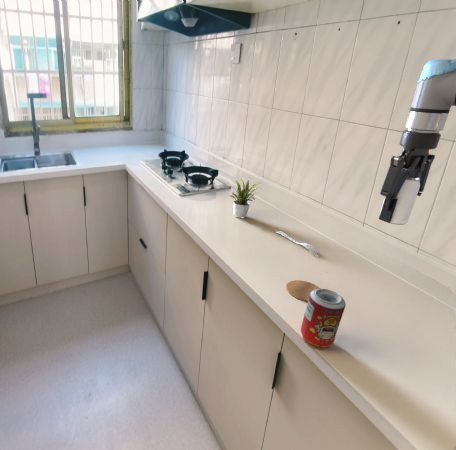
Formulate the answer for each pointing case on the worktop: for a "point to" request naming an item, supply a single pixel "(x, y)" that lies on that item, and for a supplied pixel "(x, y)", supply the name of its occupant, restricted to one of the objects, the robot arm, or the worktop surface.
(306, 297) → the cork coaster
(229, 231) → the worktop surface
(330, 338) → the soda can
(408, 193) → the can
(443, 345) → the worktop surface
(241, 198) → the house plant
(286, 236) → the fork
